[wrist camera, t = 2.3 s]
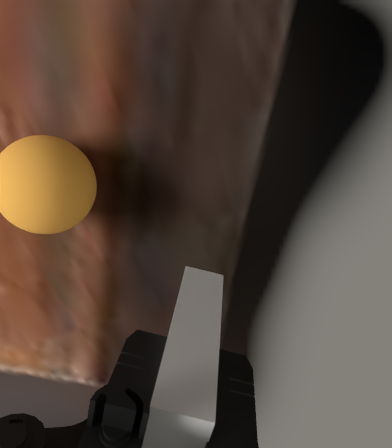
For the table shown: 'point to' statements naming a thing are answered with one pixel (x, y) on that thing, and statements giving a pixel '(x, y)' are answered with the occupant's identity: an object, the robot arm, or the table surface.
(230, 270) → the table surface
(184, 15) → the table surface
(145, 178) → the table surface
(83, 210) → the ball
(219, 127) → the table surface
